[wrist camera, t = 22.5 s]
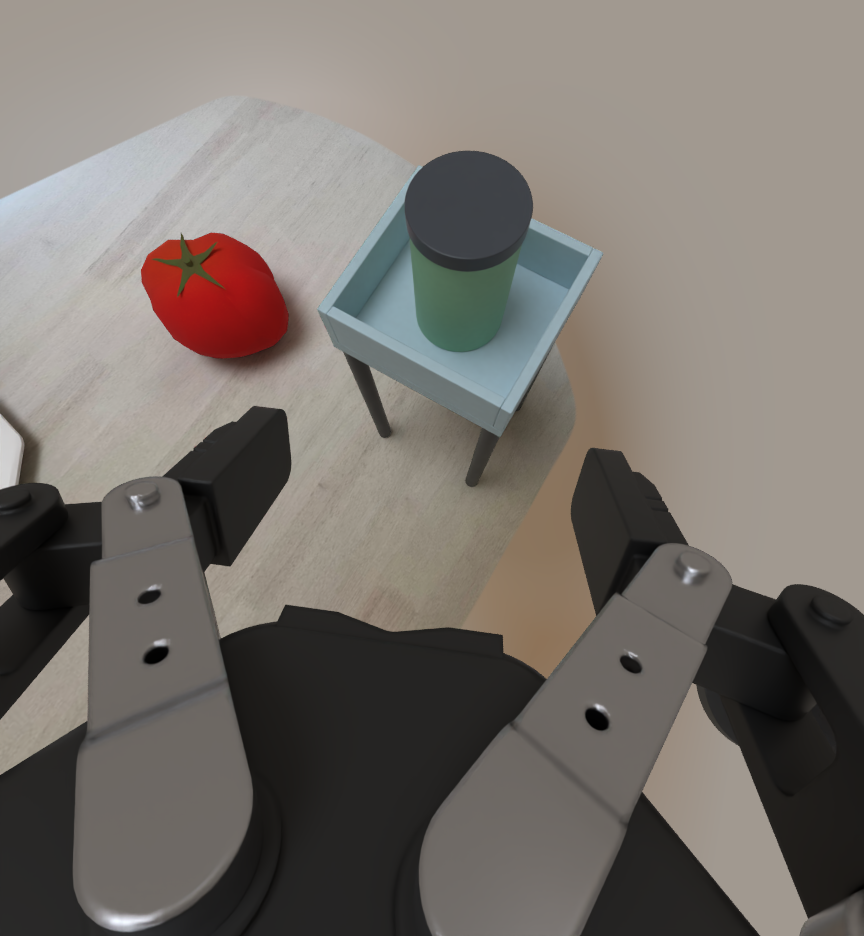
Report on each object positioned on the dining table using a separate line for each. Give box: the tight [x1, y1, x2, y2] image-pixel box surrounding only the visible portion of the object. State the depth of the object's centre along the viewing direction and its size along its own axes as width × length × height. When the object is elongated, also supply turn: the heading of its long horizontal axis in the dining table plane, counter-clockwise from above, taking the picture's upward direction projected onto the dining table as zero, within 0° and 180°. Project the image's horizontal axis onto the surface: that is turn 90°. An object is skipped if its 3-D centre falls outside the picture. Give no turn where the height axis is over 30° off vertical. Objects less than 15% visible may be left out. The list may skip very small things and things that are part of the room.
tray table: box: [317, 165, 603, 487], centre depth 34 cm, size 11×10×22 cm
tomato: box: [141, 233, 289, 358], centre depth 42 cm, size 11×13×10 cm
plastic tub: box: [404, 151, 533, 352], centre depth 22 cm, size 5×5×8 cm
